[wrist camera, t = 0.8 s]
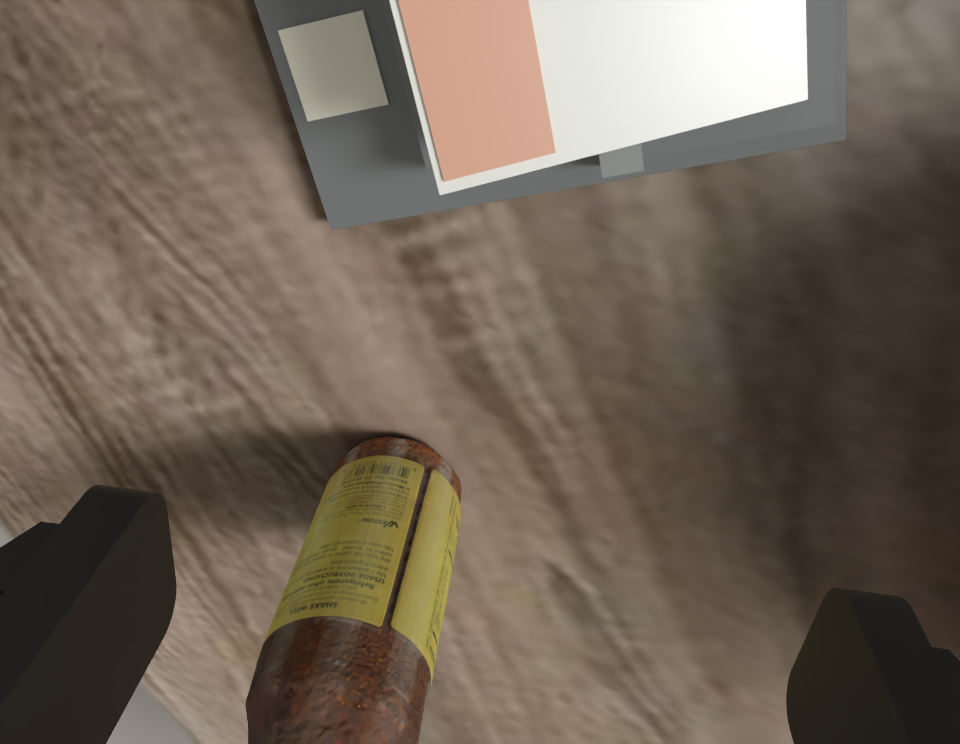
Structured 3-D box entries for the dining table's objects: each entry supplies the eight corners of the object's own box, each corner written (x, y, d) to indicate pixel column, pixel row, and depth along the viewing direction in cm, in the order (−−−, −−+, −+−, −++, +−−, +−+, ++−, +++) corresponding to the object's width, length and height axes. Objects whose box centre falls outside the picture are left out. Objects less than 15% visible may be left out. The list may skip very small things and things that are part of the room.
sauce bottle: (313, 486, 38) (81, 962, 21) (380, 404, 35) (172, 884, 18) (425, 555, 40) (290, 1053, 23) (500, 482, 36) (406, 996, 20)
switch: (779, -139, 19) (804, -144, 18) (787, 91, 22) (809, 100, 21) (380, -34, 19) (380, -32, 18) (436, 183, 22) (440, 196, 21)
